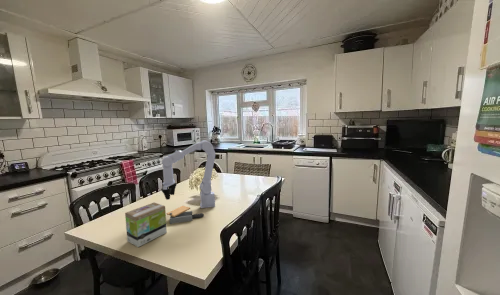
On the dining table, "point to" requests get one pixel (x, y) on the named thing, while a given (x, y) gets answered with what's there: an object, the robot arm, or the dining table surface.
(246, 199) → the dining table surface
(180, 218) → the grey angled bars
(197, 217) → the dark grey rounded rod
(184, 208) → the cover
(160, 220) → the tea box
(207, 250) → the dining table surface
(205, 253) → the dining table surface
